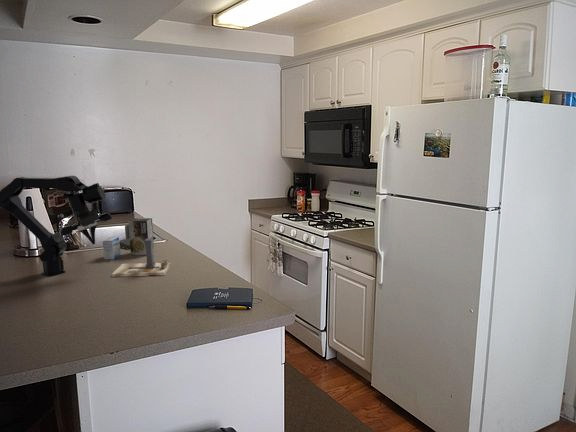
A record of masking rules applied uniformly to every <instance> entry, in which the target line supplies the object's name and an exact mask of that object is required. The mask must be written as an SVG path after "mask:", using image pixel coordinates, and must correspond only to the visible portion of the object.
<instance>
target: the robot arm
mask: <svg viewBox="0 0 576 432" xmlns="http://www.w3.org/2000/svg"><path fill="white" fill-rule="evenodd" d="M25 188H26V189H30V188H31V189H33V188H34V189H40V188H41V189H53V190H57V191H62V192H64V193H63V195H62V197H61V198H60V199H61V200H62V201H63V200H66V199H67V200H68V204H69V206H70V208H71V211H72V213H73V216H74V218H75V221H76V223H77V224H73V225H71V224H69V225H65V226H63V227H60V228H59V232H60V233H59V232H55V233H52V232H50V230H48V229H47V228H46V227H45V226H44V225H43V224H42V223H41V222H40V221H39V220H38V219H37V218H36V217H35V216H34V215H33V214H32V213H31V212H30V211H29V210H28V209H27V208H25V206H24V205H23V203H22V199H21V198H20V196H19V195H21V194H22V192H23V190H24V189H25ZM69 192H70V193H69ZM78 192H79V193H78ZM105 199H106V193H105V190H104V189H103V188H102V186H100V184H99V182H96V183H93V184H92V185H86V184H85V183H83V182H82V181H80V178H78V176H76V175H67V176H59V177H54V178H52V177H25V176H19V177H15V178H13V179H12V181H11V182H10V183H8V184H7V185H6V186H4V187H3V188H2V189H0V208H1V209H2V210H4V211H6V212H8V213H10V214H12V216H14V217H15V218H16V219H17V220H18V221H19V222H20V223H21V224H22V225H23V226H24V227H25V228H26V229H27V230H28V231H29V232H31V234H33V236H34V237H36V238H37V240H39V243H40V246H41V248H42V249H43V251H42V253H41V254H39V256H38V258H39V260H40V262H42V263H41V264H42V272H41V273H40V274H41V275H45V276H48V277H53V276H56V275H59V274H60V275H61V274H64V273H66V270H65V269H64V260H63V253H64V252H65V251H66V250H67V247H68V246H67V242H66V238H64V237H63V236H67V235H69V234H72V233H73V231H77V232H78V233H82V235H84V236H85V237H86V239H88V241H89V242H90V243H91V244H92V245H96V229H97V228H96V227H99V224H98V223H100V222H106V221H110V220H112V215H111V213H109V212H103V213H101V214H98V211H97V209H96V208H95V209H92V210H90V209H89V207H88V204H87V203H89V204H93V203H98V202H100V201H104V200H105ZM87 226H88V228H86V227H87Z"/></svg>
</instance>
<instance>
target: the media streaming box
mask: <svg viewBox="0 0 576 432" xmlns="http://www.w3.org/2000/svg"><path fill="white" fill-rule="evenodd" d="M154 241H155V240H153V242H154ZM119 243H120V246H121V247H120V248H122V247H124V248H123V249H126V248H128V249H127V250H131V248H130V237H129V238H125V239H122V240H121V239H119ZM154 243H155V242H154Z"/></svg>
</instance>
